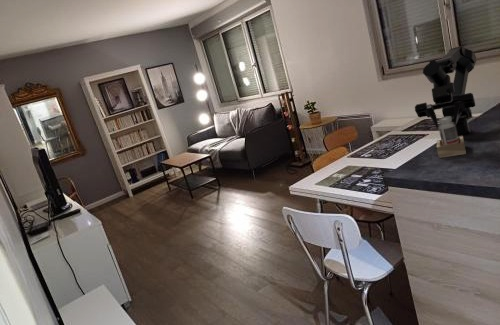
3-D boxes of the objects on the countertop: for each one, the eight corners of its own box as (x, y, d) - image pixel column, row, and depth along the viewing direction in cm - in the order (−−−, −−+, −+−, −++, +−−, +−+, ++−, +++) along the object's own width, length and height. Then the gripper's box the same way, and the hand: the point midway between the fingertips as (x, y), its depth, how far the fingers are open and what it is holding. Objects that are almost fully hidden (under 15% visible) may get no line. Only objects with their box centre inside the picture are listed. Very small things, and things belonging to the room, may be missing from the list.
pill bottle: (462, 140, 128) (456, 114, 126) (454, 146, 126) (448, 119, 123) (447, 140, 133) (441, 116, 131) (439, 146, 130) (433, 121, 128)
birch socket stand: (438, 150, 136) (436, 140, 135) (464, 145, 131) (462, 135, 130) (438, 157, 129) (436, 147, 128) (466, 153, 124) (464, 143, 123)
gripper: (409, 84, 132) (412, 121, 126) (468, 69, 121) (473, 109, 115) (417, 99, 140) (419, 134, 134) (472, 86, 129) (478, 124, 123)
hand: (446, 126), depth 127 cm, fingers closed on pill bottle, 5 cm apart
